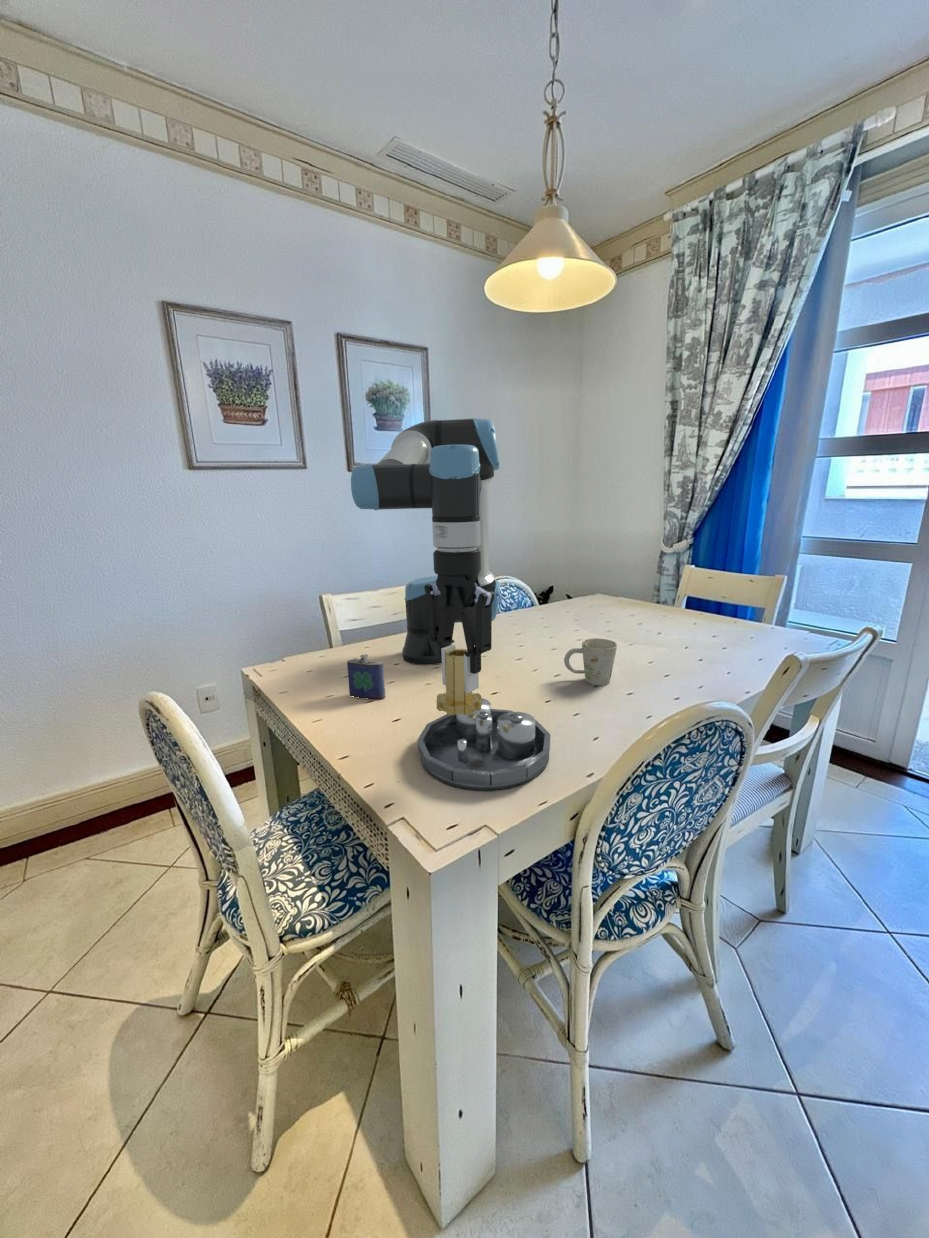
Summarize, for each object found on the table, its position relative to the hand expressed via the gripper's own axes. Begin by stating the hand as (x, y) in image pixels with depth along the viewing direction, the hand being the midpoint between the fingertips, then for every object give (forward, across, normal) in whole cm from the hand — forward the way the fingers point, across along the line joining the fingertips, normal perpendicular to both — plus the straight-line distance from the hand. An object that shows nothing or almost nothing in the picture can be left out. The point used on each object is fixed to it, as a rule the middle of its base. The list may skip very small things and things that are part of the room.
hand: (460, 685), depth 84 cm
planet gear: (+4, 0, 0) cm, 4 cm away
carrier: (+15, 0, +6) cm, 17 cm away
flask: (+16, -38, +8) cm, 42 cm away
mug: (+15, -2, +50) cm, 52 cm away
